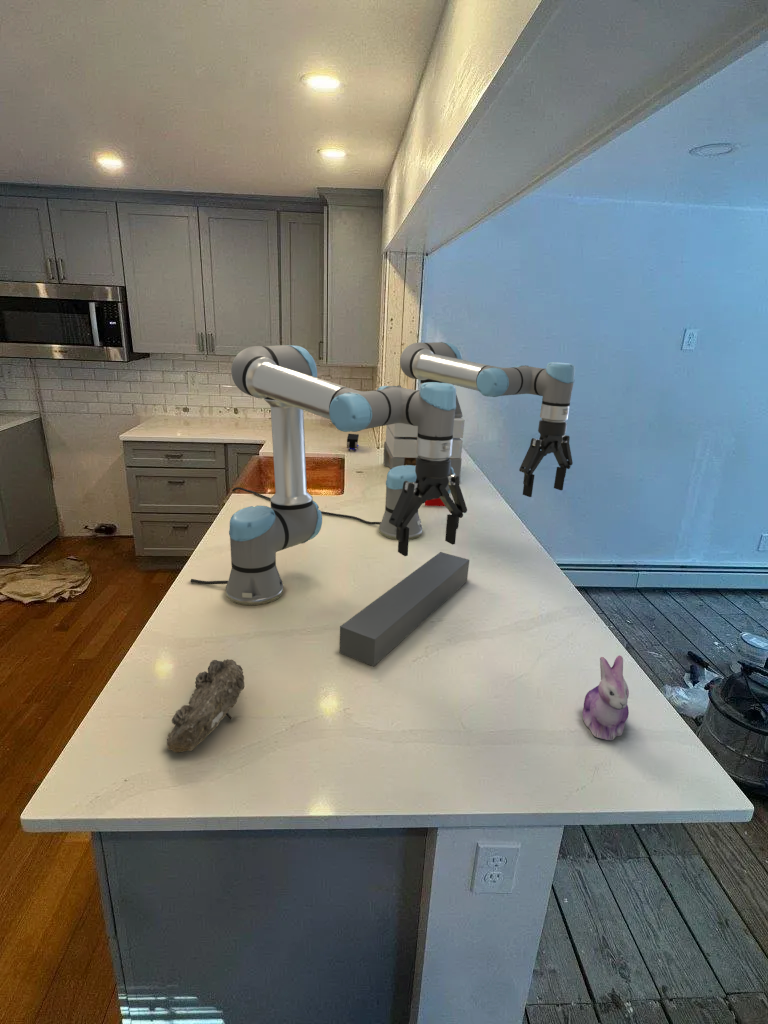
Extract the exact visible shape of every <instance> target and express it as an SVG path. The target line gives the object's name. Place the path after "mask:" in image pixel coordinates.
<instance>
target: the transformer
mask: <svg viewBox="0 0 768 1024" xmlns="http://www.w3.org/2000/svg"><path fill="white" fill-rule="evenodd" d="M396 386H397V387H400V388H403V387H402V385H399V384H398V385H396ZM385 426H386V428H385V438H384V442H383V466H384V467H388V468H389V470H391V469H392V468H394V467H397V466H402V465H404V466H406V465H413V466H416V458H417V457H418V455H417V454H416V449H417V436H418V426H413V425H409V424H403V423H396V424H390V425H385ZM464 429H465V419H464V418H463V411H462V408H461V405H460V402H459V398H458V395H457V394H456V409H455V417H454V427H453V442H452V454H451V456H450V457H449V458H450V460H451V467H452V468H453V470H454V473H455V475H456V476H458V477H459V483H461V472H462V461H463V460H462V453H463V442H464V441H463V440H462V439H463V438H464V431H465V430H464Z"/></svg>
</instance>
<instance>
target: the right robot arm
mask: <svg viewBox="0 0 768 1024" xmlns="http://www.w3.org/2000/svg"><path fill="white" fill-rule="evenodd" d="M399 366H400V369H401V372H402V373H403V374H404V375H405V376H406V377H407V378H410V379H413V380H418V381H419V383H420V386H421V385H422V384H423V383H426V382H438V383H448V384H452V385H453V386H457V387H461V388H464V389H468V390H471V391H472V390H473V391H477V392H479V393H480V395H482V396H484V397H490V398H491V397H492V398H497V397H504V396H518V395H533V396H534V395H535V396H540V397H541V398H542V399H541V406H540V413H539V418H540V420H539V421H538V427H537V432H538V433H539V438H534V437H531V439H530V442H529V443H530V444H529V447H528V449H527V452H526V453H525V456H524V458H523V460H522V462H521V465H520V466H519V469H518V471H519V472H521V473H523V481H522V483H523V484H522V485H523V486H522V487H523V488H522V496H525V497H528V498H532V497H533V489H534V482H535V474H534V472H535V471H536V469H537V468H538V467H539V464H541V462H542V460H543V459H544V457H546V456H547V455H548V454H549V455H550V454H553V455H554V456H553V457H554V458H555V460H556V462H557V465H558V466H557V467H556V470H555V477H554V483H553V489H555V490H559V491H563V490H564V484H565V478H566V474H567V470H570V469H571V466H572V465H573V463H574V462H573V456H572V450H571V445H570V438H571V437H570V435H567V434H566V433H567V426H568V423H567V421H568V419H569V412H570V406H571V399H572V393H573V389H574V383H575V375H576V373H575V372H576V367H575V365H574V364H572V363H570V362H569V363H568V362H561V361H560V362H559V361H558V362H557V361H551V362H548V363H547V365H546V368H542V367H535V366H529V365H514V366H512V367H511V366H510V367H501V366H495V365H490V364H486V363H480V362H476V361H471V360H466V359H463V356H462V353H461V351H460V350H459V348H458V347H457V346H456V345H455V344H454V343H451V342H445V341H444V342H443V341H439V342H438V341H436V342H422V341H421V342H420V341H419V342H413V343H411V344H409V345H407V346H406V347H405V348H404V349H403V351H402V352H401V354H400V358H399ZM415 467H416V466H413V465H402V466H397V467H394V468H392V469H391V470H390V469H389V470H388V472H387V475H386V479H385V504H384V505H385V507H384V508H385V509H384V513H383V515H382V519H381V521H368V520H365V519H363V518H361V517H359V516H358V517H357V516H354V515H348V514H340V513H334V512H328V511H323V510H321V514H322V515H325V516H326V515H327V516H332V517H339V518H346V519H352V520H356V521H359V522H361V523H363V524H367V525H377V526H378V533H379V534H380V535H381V536H382V537H385V538H387V539H389V540H395V541H398V540H397V539H396V530H397V527H395V526H393V525H392V524H390V523H389V519H390V517H391V515H392V513H393V510H394V508H395V506H396V504H397V502H398V499H399V497H400V495H401V493H402V489H403V483H404V481H408V482H415V481H416V478H417V476H416V472H415ZM450 474H453V475H455V473H454V470H453V468H452V467H450ZM445 489H446V490H447V492H448V493H449V495H451V491H450V488H449V485H447V487H446V488H445ZM237 490H239V491H244V492H246V493H250V494H254V495H255V496H258V497H260V498H263V499H266V500H268V501H270V499H271V497H269V496H266V495H263V494H262V493H259V492H256V491H253V490H251V489H247V488H244V487H242V486H241V487H240V486H237V487H236V486H235V487H234V488H233V489H232V490H231V491H232V492H235V491H237ZM415 490H416V489H415ZM418 497H421V496H420V495H419V496H418ZM439 498H440V497H439ZM433 499H434V498H433ZM406 527H408V528H409V541H410V540H415V539H418V538H420V537H421V536H422V535H423V525H422V520H421V518H420V515H419V509H418V510H417V512H416V513H415V515H414V516H413V518H412V519H411V521H410V522H409V523H408V525H407V526H406Z"/></svg>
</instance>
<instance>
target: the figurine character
mask: <svg viewBox="0 0 768 1024" xmlns="http://www.w3.org/2000/svg"><path fill="white" fill-rule="evenodd" d="M359 437H360V434H359V433H347V437H346V449H348V452H351V451H353V452H356V449H358V447H360V446H359Z"/></svg>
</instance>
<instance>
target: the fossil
mask: <svg viewBox="0 0 768 1024" xmlns="http://www.w3.org/2000/svg"><path fill="white" fill-rule="evenodd" d="M243 670H244V669H243V667H242V665H240V664H237V662H236V661H235V660H234V659H232V658H231V659H227V658H226V659H224V660H223V661H222V660H217V659H212V660H211V661H210V663H209V665H208V666H207V671H201V672H199V673H198V674H197V675H196V676H195V680H194V684H195V685H194V687H195V689H194V690H193V693H192V694H191V697H190V698H189V700H188V704H184V705H182V706H181V707H180V709H177V710H176V711H175V713H174V715H173V716H172V718H171V723H172V724H173V727H172V730H171V731H170V732H168V734H167V738H166V741H167V742H166V745H167V749H168V750H169V751H173V752H174V753H176V754H178V753H182V752H188V751H189V752H192V751H193V750H195V748H196V747H197V746H199V744H200V743H201V742H203V741H204V740H205V739H206V738H207V737H208V736H209V735H210V734H211V733H212V732H214V730H215V729H217V727H218V726H219V724H220V722H221V721H222V720H223V719H224V718H225V716H226V717H227V719H229V720H233V717H232V715H230V714H229V710H230V709H231V708H234V706H235V704H236V703H237V702H238V699H239V697H240V695H241V693H242V691H243V690H245V689H244V688H245V675H244V671H243Z"/></svg>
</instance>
